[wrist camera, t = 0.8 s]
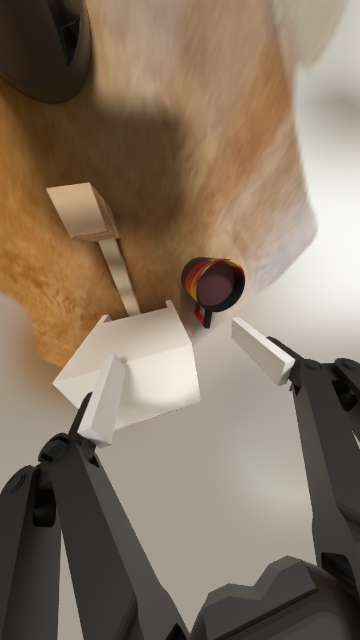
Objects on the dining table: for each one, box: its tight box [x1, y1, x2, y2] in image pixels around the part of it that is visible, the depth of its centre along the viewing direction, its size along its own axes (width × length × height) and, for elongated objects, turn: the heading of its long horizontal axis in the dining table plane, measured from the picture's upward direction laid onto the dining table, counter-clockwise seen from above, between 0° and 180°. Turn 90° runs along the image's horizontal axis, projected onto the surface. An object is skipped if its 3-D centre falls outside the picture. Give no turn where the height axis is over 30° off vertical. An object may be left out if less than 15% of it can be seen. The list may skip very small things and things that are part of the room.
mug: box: [181, 257, 245, 328], centre depth 30 cm, size 10×14×12 cm
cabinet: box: [52, 300, 201, 430], centre depth 29 cm, size 15×18×20 cm
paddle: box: [46, 183, 142, 317], centre depth 26 cm, size 25×5×10 cm, turn 10°
